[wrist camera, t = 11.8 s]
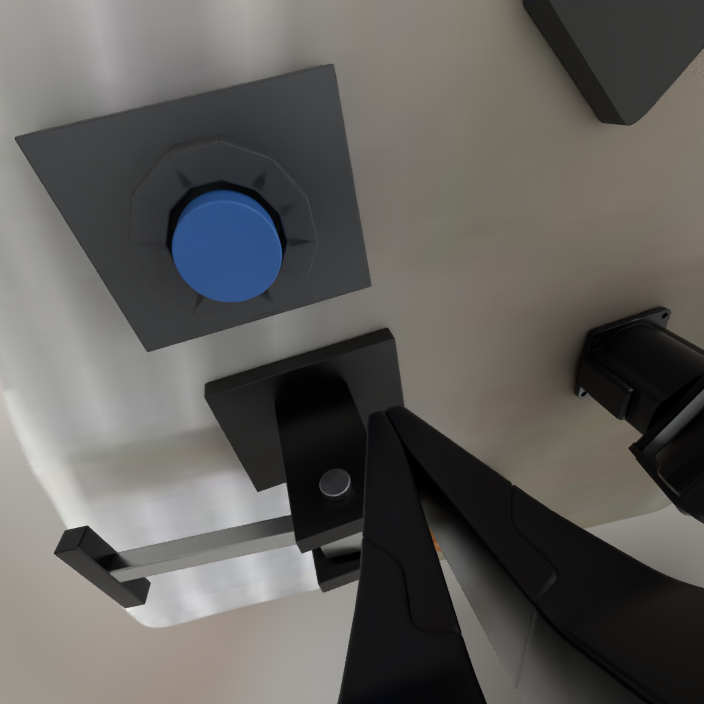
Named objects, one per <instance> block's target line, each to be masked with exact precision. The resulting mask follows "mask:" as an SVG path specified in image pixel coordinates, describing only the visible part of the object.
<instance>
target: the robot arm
mask: <svg viewBox="0 0 704 704" xmlns="http://www.w3.org/2000/svg"><path fill="white" fill-rule="evenodd" d="M670 314H671V310H669V309H667V308H665V307H661V308H658V309H655V310H652V311H649V312H646V313H643V314H639V315H636V316H633V317H630V318H627V319H624V320H621V321H618V322H615V323H612V324H609V325H606V326H603V327H600V328H597V329H594V330H592V331H591V332H589V334H588V335H587V338H586V343H585V347H584V352H583V357H582V361H581V366H580V370H579V375H578V380H577V384H576V389H575V395H576V396H577V397H578V398H579V399H583V398H586V397H589V396H591V397H593V398H594V399H595V400H596V401H597V402H598V403H600V404H601V405H602V406H603V407H604V408H605V409H607V410H608V411H609V412H610V413H611V414H612V415H614V416H615V417H616V418H617V419H619V420H624V419H625V420H626V421H627V422H628V423H629V424H630V425H632V426H633V427H634V428H635V429H636V430H638V431H639V432H640V433H641V434H642V435H643V436H642V437H641V438H640V439H639V440H638V441H637V442H636V443H635V442H634V443H633V444H632V445H631V446H630V447H629V448H628V449H629V450H630V451H631V452H632V453H633V455H634V456H635V457H636V460H637V461H638V462H639V464H640V465H641V466H642V467H643V468H644V469H645V471H646V472H647V473H648V474H649V475H650V477H651V478H652V479H653V480H654V481H655V482H656V484H657V485H658V486H659V487H660V488H661V490H662V491H663V492H664V493H665V494H666V495H667V497H668V498H669V499H670V500H671V501H672V503H673V504H674V505H675V506H676V508H677V509H678V510H679V511H680V512H681V513H683V514H684V515H688V516H693V517H694V518H695V519H697V520H698V521H700V522H702V523H703V524H704V350H703V349H701V348H699V347H697V346H696V345H694V344H692V343H690V342H688V341H687V340H685V339H683V338H681V337H680V336H678V335H676V334H674V333H672V332H671V331H669V330H667V329H665V328H666V325H667V323H668V320H669V317H670ZM429 528H430V529H429ZM430 530H431V532H432V533H433V535H434V537H435V539H436V541H437V543H438V545H439V547H440V549H441V550H442V552H443V554H444V556H445V558H446V560H447V562H448V564H449V565H450V567H451V569H452V571H453V573H454V575H455V577H456V579H457V580H458V582H459V584H460V586H461V588H462V590H463V592H464V593H465V596H466V597H467V599H468V601H469V603H470V605H471V607H472V608H473V610H474V613H475V614H476V616H477V618H478V620H479V622H480V624H481V625H482V628H483V629H484V631H485V633H486V635H487V637H488V639H489V641H490V643H491V644H492V646H493V648H494V650H495V652H496V654H497V655H498V658H499V660H500V661H501V663H502V665H503V667H504V669H505V671H506V673H507V675H508V676H509V678H510V680H511V682H512V684H513V686H514V688H515V689H517V690H516V691H517V694H518V695H519V697H520V699H521V701H522V703H523V704H704V588H702V587H698V586H694V585H691V584H688V583H685V582H682V581H679V580H677V579H674V578H672V577H669V576H667V575H665V574H663V573H661V572H659V571H656V570H654V569H652V568H651V567H649V566H646V565H645V564H643V563H641V562H639V561H638V560H636V559H634V558H632V557H631V556H629V555H627V554H626V553H624V552H622V551H621V550H618V549H617V548H615V547H613V546H612V545H610V544H608V543H607V542H604V541H603V540H601V539H599V538H598V537H596V536H594V535H593V534H591V533H589V532H587V531H586V530H584V529H582V528H580V527H579V526H577V525H575V524H574V523H572V522H570V521H569V520H567V519H565V518H564V517H562V516H560V515H559V514H557V513H555V512H554V511H552V510H550V509H549V508H547V507H546V506H544V505H543V504H541V503H540V502H538V501H537V500H536V499H534V498H533V497H531V496H530V495H528V494H527V493H525V492H524V491H523V490H521V489H520V488H518V487H517V486H516V485H512V483H511V482H510V481H508V480H507V479H505V478H504V477H503V476H501V475H500V474H498V473H497V472H496V471H494V470H493V469H491V468H490V467H488V466H487V465H486V464H484V463H483V462H481V461H480V460H479V459H477V458H476V457H474V456H473V455H471V454H470V453H469V452H467V451H466V450H464V449H463V448H462V447H460V446H459V445H457V444H456V443H455V442H453V441H452V440H450V439H449V438H447V437H446V436H445V435H443V434H442V433H440V432H439V431H438V430H436V429H435V428H433V427H432V426H430V425H429V424H428V423H426V422H425V421H423V420H422V419H421V418H419V417H418V416H416V415H415V414H414V413H412V412H411V411H409V410H408V409H406V408H405V407H404V406H402V405H400V404H398V405H395V406H391V407H388V408H386V409H385V411H384V410H379V411H376V412H373V413H370V414H369V415H368V422H367V443H366V464H365V485H364V506H363V527H362V537H363V539H362V543H361V561H360V573H359V583H358V590H357V597H356V604H355V611H354V617H353V622H352V628H351V634H350V640H349V645H348V651H347V656H346V662H345V668H344V673H343V679H342V684H341V689H340V694H339V698H338V703H337V704H487V703H486V700H485V698H484V695H483V693H482V690H481V688H480V685H479V683H478V680H477V677H476V675H475V672H474V669H473V666H472V663H471V660H470V657H469V654H468V651H467V649H466V645H465V642H464V639H463V637H462V635H461V629H460V626H459V623H458V620H457V616H456V613H455V610H454V607H453V604H452V600H451V597H450V594H449V591H448V588H447V584H446V581H445V578H444V575H443V571H442V568H441V565H440V562H439V558H438V555H437V552H436V549H435V546H434V542H433V539H432V536H431V533H430Z"/></svg>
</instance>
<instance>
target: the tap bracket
mask: <svg viewBox="0 0 704 704" xmlns="http://www.w3.org/2000/svg"><path fill="white" fill-rule="evenodd" d="M204 397H205V399H206V401H207V403H208V405H209V406H210V408H211V410H212V412H213V413H214V415H215V417H216V419H217V421H218V422H219V424H220V426H221V428H222V430H223V431H224V433H225V435H226V437H227V438H228V440H229V442H230V444H231V446H232V447H233V449H234V451H235V453H236V454H237V456H238V458H239V460H240V462H241V463H242V465H243V467H244V469H245V471H246V472H247V474H248V476H249V478H250V479H251V481H252V483H253V485H254V487H255V488H256V490H257V492H259V491H262V490H265V489H268V488H271V487H274V486H277V485H280V484H283V483H286V484H287V490H288V497H289V503H290V510H291V516H292V523H293V529H294V536H295V542H296V544H297V546H298V548H299V549H300V551H301V553H305V552H307V551H310V550H312V554H313V559H314V564H315V570H316V575H317V581H318V585H319V586H320V588H321V590H322V592H327V591H330V590H332V589H335V588H337V587H340V586H343V585H346V584H348V583H351V582H354V581H356V580H359V573H360V561H361V551H359V552H354V553H349V554H345V555H340V556H335V557H331V558H326V557H325V555H324V553H323V551H322V548H321V546H324V545H327V544H330V543H332V542H335V541H338V540H341V539H343V538H346V537H349V536H352V535H354V534H357V533H360V532H362V527H363V506H364V485H365V464H366V443H367V422H368V415H369V414H370V413H373V412H376V411H379V410H384V411H385V409H386V408H388V407H391V406H395V405H398V404H400V405H402V406H404V400H403V393H402V386H401V379H400V372H399V365H398V358H397V351H396V344H395V338H394V336H393V335H392V333H391V332H390V330H389V329H388V328H385V329H382V330H379V331H376V332H372V333H369V334H366V335H363V336H359V337H356V338H353V339H350V340H346V341H343V342H340V343H337V344H333V345H330V346H327V347H324V348H320V349H317V350H314V351H311V352H307V353H304V354H301V355H298V356H294V357H291V358H288V359H285V360H281V361H278V362H275V363H272V364H268V365H265V366H262V367H259V368H255V369H252V370H249V371H246V372H242V373H239V374H236V375H233V376H229V377H226V378H223V379H220V380H216V381H213V382H210V383H207V384H205V396H204Z"/></svg>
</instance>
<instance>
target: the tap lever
mask: <svg viewBox="0 0 704 704" xmlns="http://www.w3.org/2000/svg"><path fill="white" fill-rule="evenodd" d="M362 539H363V537H362V532H360V533H357V534H354V535H352V536H349V537H346V538H343V539H341V540H338V541H335V542H332V543H330V544H327V545H324V546H321V548H322V551H323V553H324V555H325V557H326V558H331V557H335V556H340V555H345V554H349V553H354V552H359V551H361V543H362ZM295 544H296V542H295V536H294V529H293V523H292V516H291V515H288V516H283V517H279V518H274V519H270V520H265V521H260V522H256V523H251V524H246V525H242V526H237V527H233V528H228V529H223V530H219V531H214V532H210V533H205V534H200V535H196V536H191V537H187V538H182V539H177V540H173V541H168V542H164V543H159V544H154V545H150V546H145V547H141V548H136V549H131V550H127V551H122V552H118V553H117V552H116V551H115V550H114V549H113V548H112V547H111V546H110V545H109V544H108V543H106V542H105V541H104V540H103V539H102V538H101V537H100V536H99V535H98V534H96V533H95V532H94V531H93V530H92V529H91V528H90V527H89V526H83V527H78V528H74V529H69V530H65V531H64V534H63V535H62V538H61V540H60V542H59V544H58V546H57V548H56V550H55V552H54V554H55V555H56V556H57V557H59V558H60V559H61V560H63V561H64V562H65V563H67V564H68V565H69V566H71V567H72V568H73V569H74V570H76V571H77V572H78V573H80V574H81V575H82V576H84V577H85V578H86V579H87V580H89V581H90V582H91V583H93V584H94V585H95V586H97V587H98V588H99V589H101V590H102V591H103V592H105V593H106V594H107V595H108V596H110V597H111V598H112V599H114V600H115V601H116V602H118V603H119V604H120V605H121V606H123V607H124V608H129V607H134V606H139V605H143V604H145V602H146V598H147V595H148V591H149V588H150V584H151V583H150V582H149V581H148V580H147V579H146V578H145V577H147V576H152V575H157V574H161V573H166V572H171V571H175V570H180V569H184V568H189V567H194V566H198V565H203V564H208V563H212V562H217V561H221V560H226V559H231V558H235V557H240V556H245V555H249V554H254V553H258V552H263V551H268V550H272V549H277V548H281V547H286V546H291V545H295Z"/></svg>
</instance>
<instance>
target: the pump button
mask: <svg viewBox="0 0 704 704" xmlns="http://www.w3.org/2000/svg"><path fill="white" fill-rule="evenodd" d="M172 256H173V260H174V263H175V266H176V268H177V270H178V272H179V274H180V276H181V277H182V278H183V280H184V281H185V282H186V283H187V284H188V285H189V286H190V287H191V288H192V289H194V290H195V291H196V292H198V293H200V294H201V295H203V296H205V297H207V298H210V299H213V300H216V301H221V302H241V301H246V300H249V299H252V298H254V297H256V296H258V295H260V294H261V293H263V292H264V291H265V290H266V289H267V288H269V286H270V285H271V284H272V283H273V282H274V280H275V279H276V277H277V275H278V273H279V270H280V267H281V262H282V248H281V243H280V240H279V237H278V234H277V231H276V228H275V225H274V223H273V220H272V219H271V217H270V215H269V214H268V212H267V211H266V210H265V208H264V207H263V206H262V205H261V204H260V203H258V202H257V201H256V200H254V199H253V198H251V197H250V196H248V195H246V194H244V193H241V192H238V191H233V190H226V189H219V190H212V191H208V192H205V193H202V194H200V195H199V196H197V197H195V198H194V199H193V200H191V201H190V202H189V203H188V204H187V205H186V207H185V208H184V209H183V211H182V213H181V215H180V217H179V220H178V223H177V226H176V229H175V232H174V235H173V240H172Z"/></svg>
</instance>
